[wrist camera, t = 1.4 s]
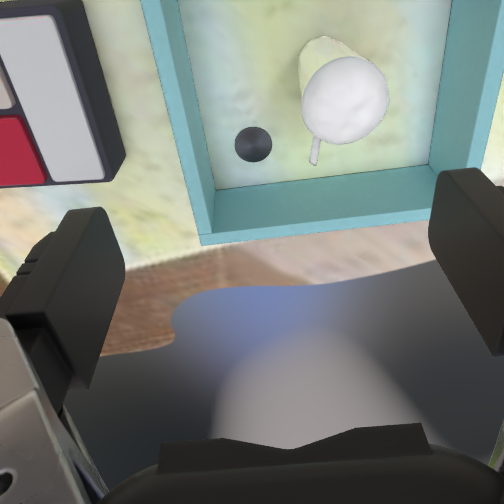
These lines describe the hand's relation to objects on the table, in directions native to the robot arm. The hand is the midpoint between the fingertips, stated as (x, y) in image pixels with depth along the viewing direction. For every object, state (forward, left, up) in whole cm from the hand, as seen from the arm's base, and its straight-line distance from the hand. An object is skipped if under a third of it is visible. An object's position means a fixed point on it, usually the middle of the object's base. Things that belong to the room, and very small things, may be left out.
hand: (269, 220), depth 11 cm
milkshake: (+3, +4, -22) cm, 23 cm away
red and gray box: (+2, -18, -22) cm, 28 cm away
